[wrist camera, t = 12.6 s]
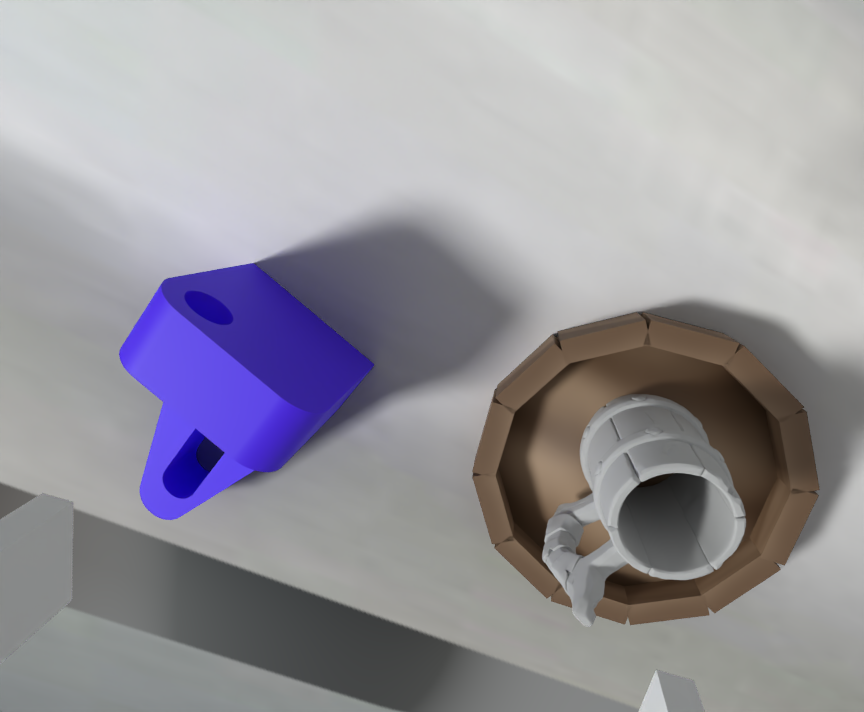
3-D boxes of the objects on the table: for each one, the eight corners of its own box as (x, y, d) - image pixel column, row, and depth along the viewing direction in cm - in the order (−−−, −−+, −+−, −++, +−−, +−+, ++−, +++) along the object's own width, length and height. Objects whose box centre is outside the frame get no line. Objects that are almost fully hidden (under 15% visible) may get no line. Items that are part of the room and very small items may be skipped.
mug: (728, 450, 36) (821, 561, 24) (582, 553, 39) (604, 694, 28) (647, 363, 35) (703, 435, 24) (507, 475, 39) (497, 585, 27)
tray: (526, 281, 36) (525, 287, 34) (848, 366, 34) (875, 378, 32) (450, 544, 42) (444, 567, 39) (724, 630, 40) (738, 660, 37)
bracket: (254, 262, 39) (142, 282, 28) (375, 364, 39) (313, 424, 28) (131, 440, 44) (-4, 518, 33) (239, 528, 45) (141, 635, 33)
